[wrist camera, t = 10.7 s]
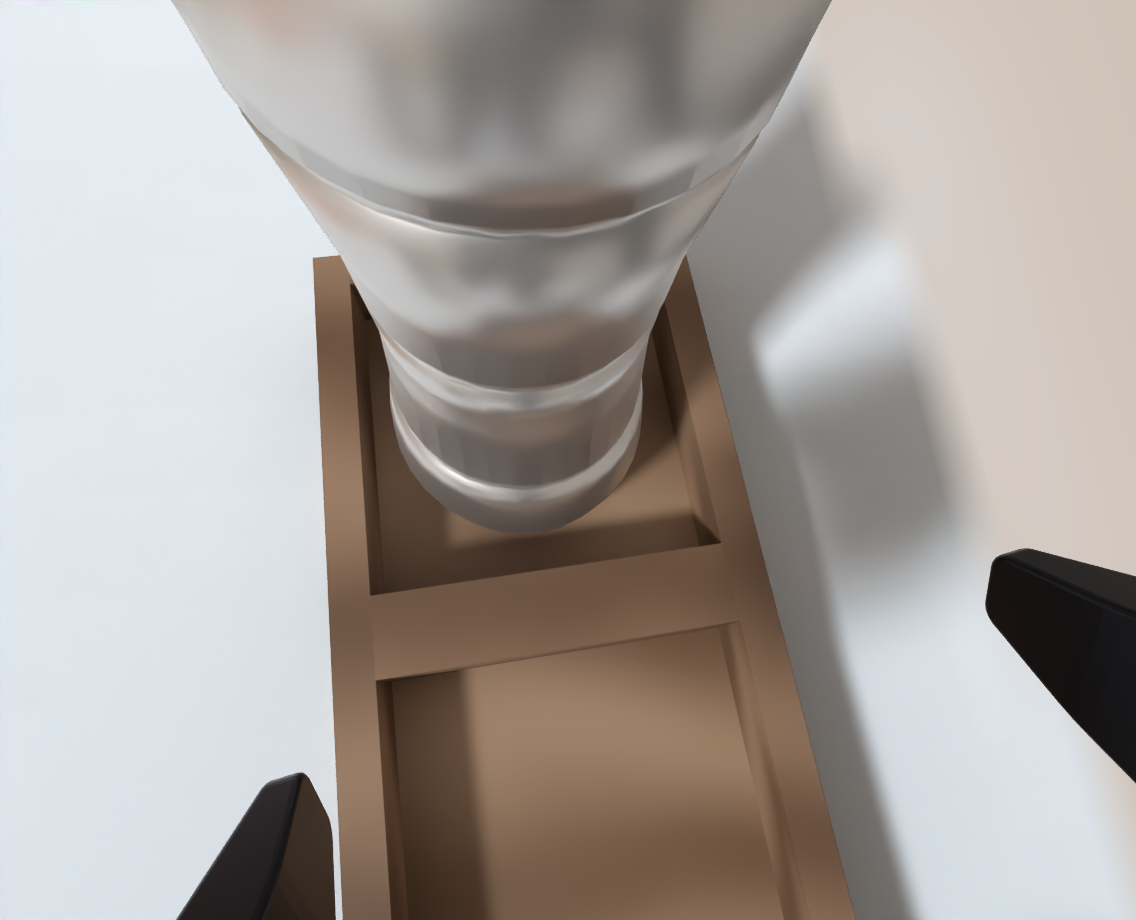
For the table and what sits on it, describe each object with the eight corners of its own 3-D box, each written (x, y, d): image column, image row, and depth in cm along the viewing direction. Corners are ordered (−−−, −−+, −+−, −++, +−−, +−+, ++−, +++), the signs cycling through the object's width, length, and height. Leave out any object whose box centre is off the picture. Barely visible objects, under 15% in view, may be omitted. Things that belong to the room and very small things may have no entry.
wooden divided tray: (873, 1064, 16) (933, 1130, 14) (362, 1189, 15) (331, 1285, 12) (673, 257, 23) (689, 209, 21) (319, 293, 22) (294, 245, 20)
